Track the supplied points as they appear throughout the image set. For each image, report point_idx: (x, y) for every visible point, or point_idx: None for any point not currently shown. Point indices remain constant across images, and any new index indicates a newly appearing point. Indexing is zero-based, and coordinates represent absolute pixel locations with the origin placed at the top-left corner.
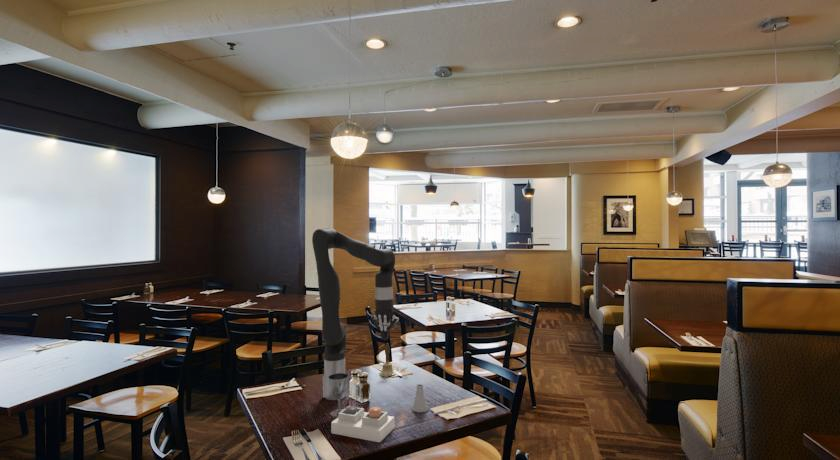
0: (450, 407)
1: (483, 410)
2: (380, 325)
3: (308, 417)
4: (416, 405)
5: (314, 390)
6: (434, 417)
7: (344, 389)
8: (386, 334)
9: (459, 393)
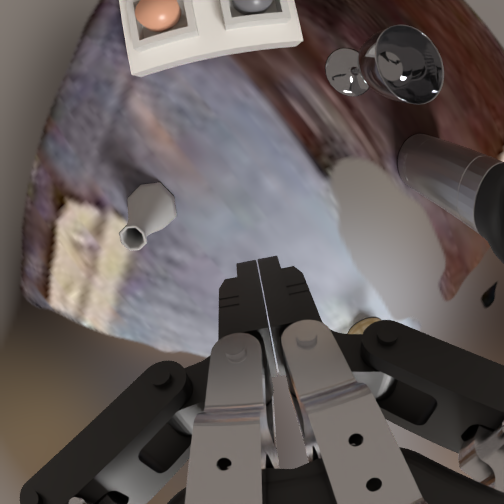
0: (102, 257)
1: (49, 278)
2: (346, 386)
3: None
4: (145, 194)
5: None
6: (93, 188)
7: (358, 55)
8: (228, 312)
9: (141, 328)
